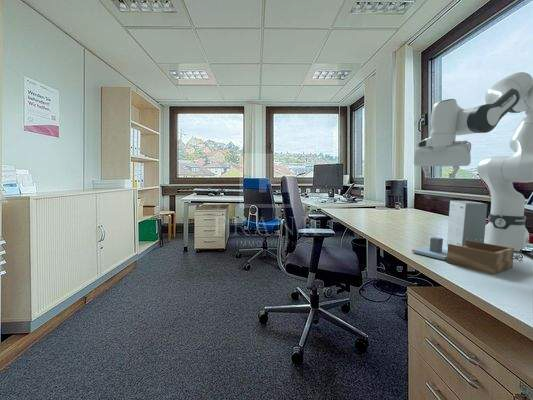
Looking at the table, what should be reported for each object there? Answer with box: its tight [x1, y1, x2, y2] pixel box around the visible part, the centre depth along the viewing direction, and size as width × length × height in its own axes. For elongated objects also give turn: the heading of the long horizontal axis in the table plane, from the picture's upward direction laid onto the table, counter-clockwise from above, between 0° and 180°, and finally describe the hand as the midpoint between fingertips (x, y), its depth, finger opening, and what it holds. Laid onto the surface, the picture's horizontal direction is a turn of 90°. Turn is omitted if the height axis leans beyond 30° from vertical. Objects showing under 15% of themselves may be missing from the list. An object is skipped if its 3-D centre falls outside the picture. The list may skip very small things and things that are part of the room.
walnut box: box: [446, 240, 515, 275], centre depth 101 cm, size 14×14×6 cm
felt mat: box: [416, 253, 444, 261], centre depth 114 cm, size 10×10×1 cm
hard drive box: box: [446, 200, 488, 247], centre depth 121 cm, size 16×8×20 cm, turn 168°
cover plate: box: [411, 236, 448, 261], centre depth 113 cm, size 11×12×6 cm
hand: (439, 177), depth 118 cm, fingers open, 8 cm apart
